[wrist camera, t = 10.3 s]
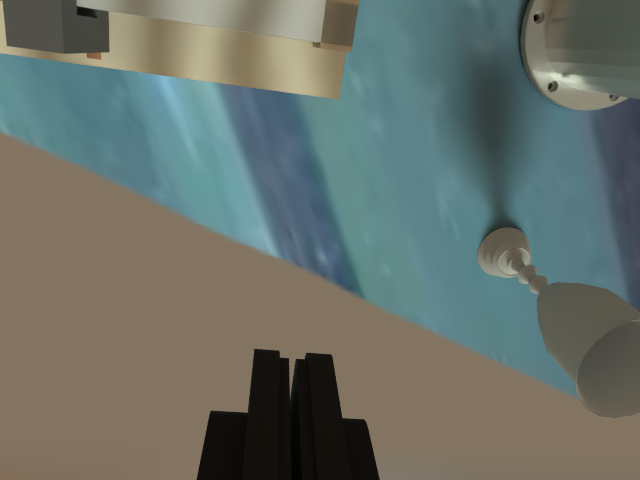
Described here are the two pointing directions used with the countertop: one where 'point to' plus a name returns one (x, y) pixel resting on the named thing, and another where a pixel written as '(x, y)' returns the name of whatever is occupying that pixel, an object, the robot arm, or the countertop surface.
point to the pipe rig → (224, 41)
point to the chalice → (577, 327)
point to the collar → (55, 26)
